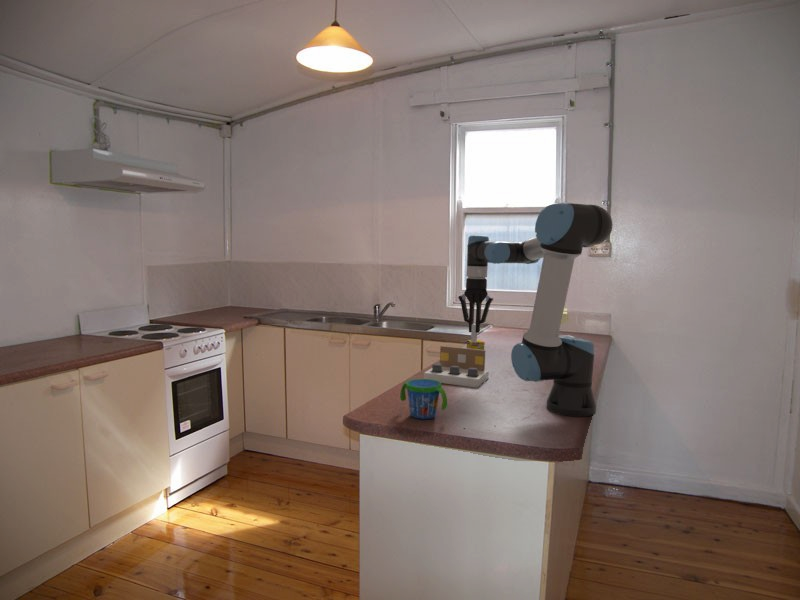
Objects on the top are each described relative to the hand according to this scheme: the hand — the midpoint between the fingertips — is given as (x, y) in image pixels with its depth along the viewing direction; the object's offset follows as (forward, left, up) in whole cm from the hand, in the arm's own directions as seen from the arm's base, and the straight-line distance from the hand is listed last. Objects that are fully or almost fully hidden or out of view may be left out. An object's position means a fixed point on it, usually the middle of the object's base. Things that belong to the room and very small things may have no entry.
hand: (473, 341), depth 205 cm
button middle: (0, +7, -14) cm, 15 cm away
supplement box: (+30, +7, -16) cm, 35 cm away
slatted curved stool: (+107, -15, -16) cm, 109 cm away
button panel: (+3, +7, -16) cm, 18 cm away
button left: (0, +14, -14) cm, 20 cm away
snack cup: (-46, +3, -16) cm, 49 cm away
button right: (0, 0, -14) cm, 14 cm away
